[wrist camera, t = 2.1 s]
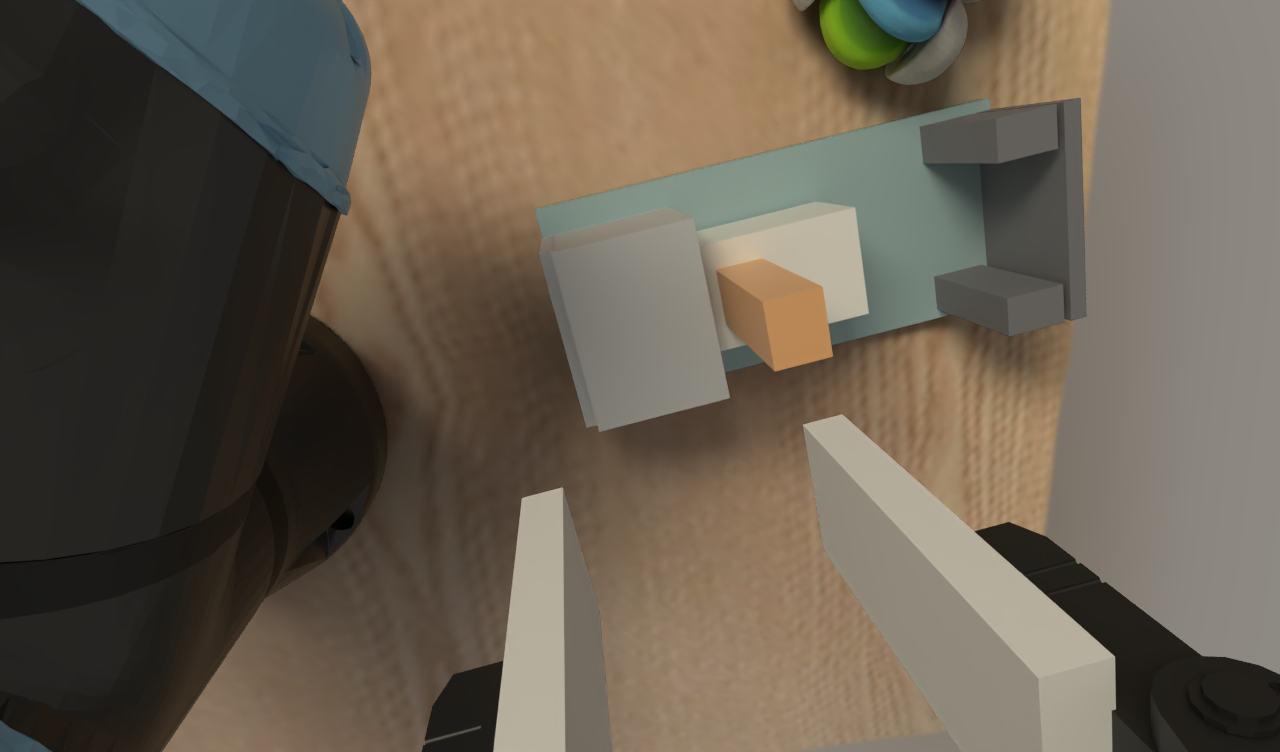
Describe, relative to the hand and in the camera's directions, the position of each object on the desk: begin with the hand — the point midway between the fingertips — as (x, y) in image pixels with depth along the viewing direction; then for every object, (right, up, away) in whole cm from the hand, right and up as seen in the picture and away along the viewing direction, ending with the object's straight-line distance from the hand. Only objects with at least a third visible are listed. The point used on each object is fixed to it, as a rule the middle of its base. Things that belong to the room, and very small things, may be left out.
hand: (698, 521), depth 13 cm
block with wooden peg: (+2, +7, +21) cm, 22 cm away
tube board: (+6, +9, +22) cm, 24 cm away
